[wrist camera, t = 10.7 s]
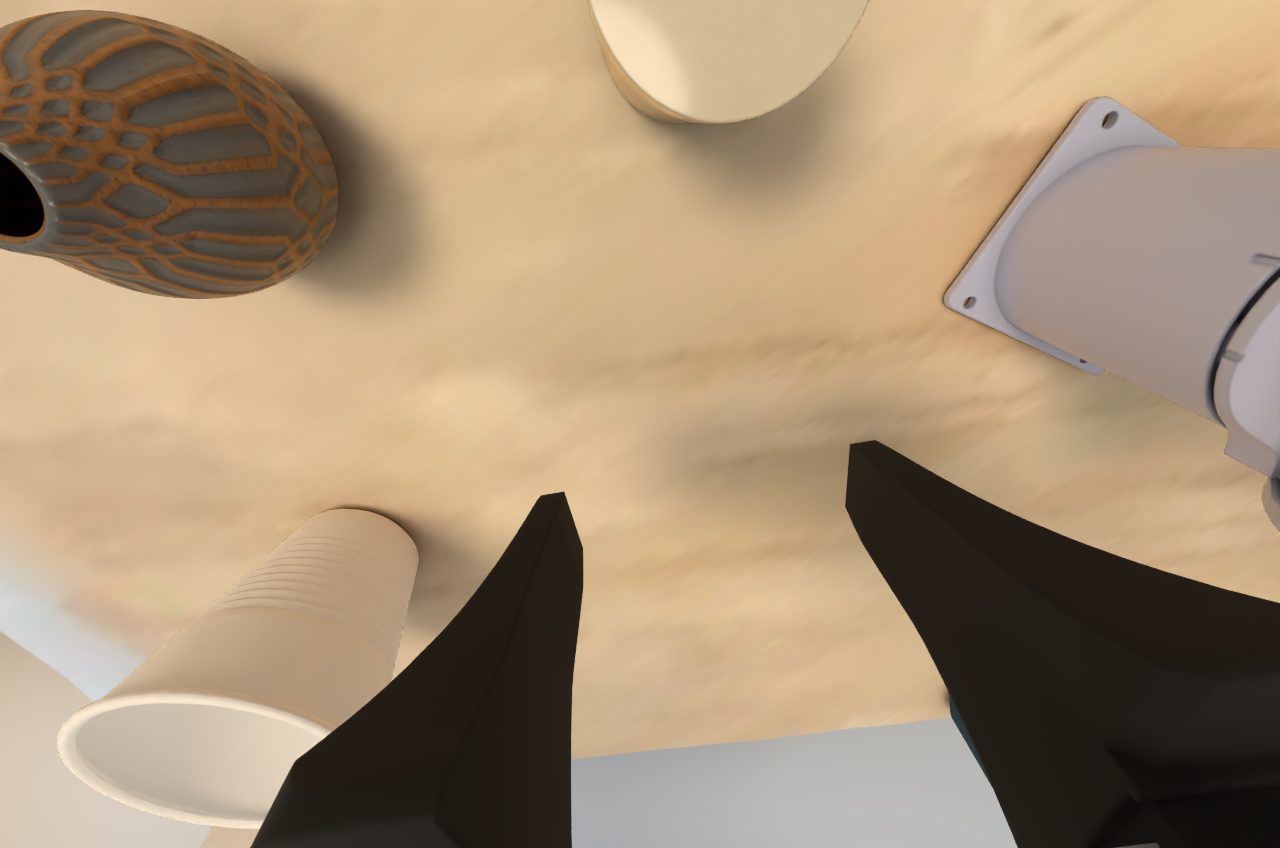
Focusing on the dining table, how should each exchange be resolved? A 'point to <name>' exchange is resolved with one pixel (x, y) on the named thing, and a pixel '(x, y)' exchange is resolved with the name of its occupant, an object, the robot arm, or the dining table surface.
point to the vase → (155, 158)
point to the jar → (719, 53)
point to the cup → (253, 677)
